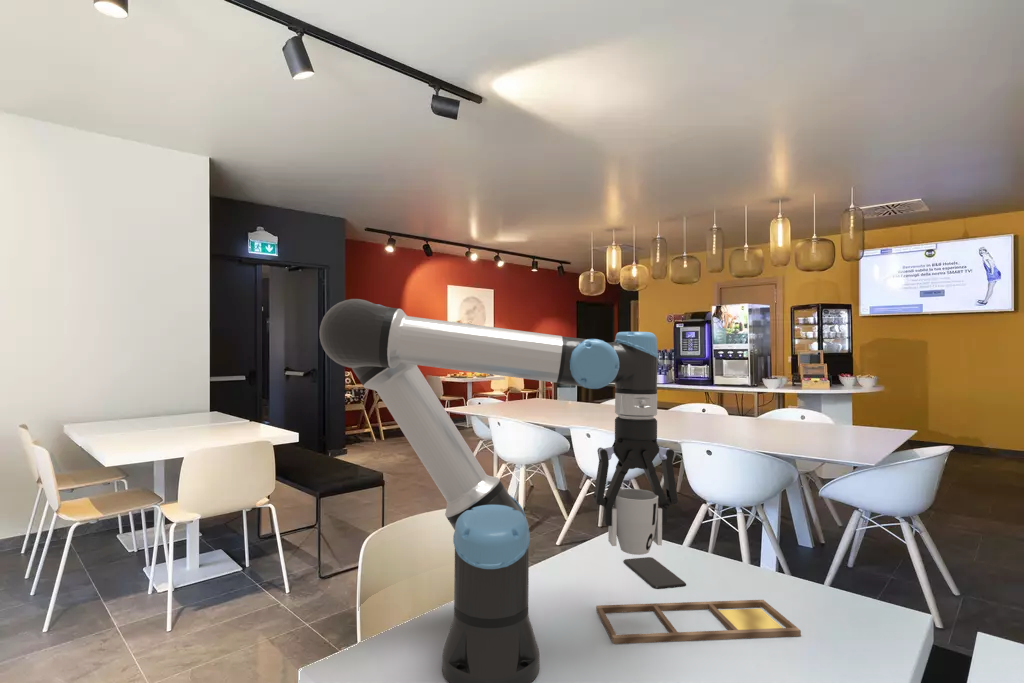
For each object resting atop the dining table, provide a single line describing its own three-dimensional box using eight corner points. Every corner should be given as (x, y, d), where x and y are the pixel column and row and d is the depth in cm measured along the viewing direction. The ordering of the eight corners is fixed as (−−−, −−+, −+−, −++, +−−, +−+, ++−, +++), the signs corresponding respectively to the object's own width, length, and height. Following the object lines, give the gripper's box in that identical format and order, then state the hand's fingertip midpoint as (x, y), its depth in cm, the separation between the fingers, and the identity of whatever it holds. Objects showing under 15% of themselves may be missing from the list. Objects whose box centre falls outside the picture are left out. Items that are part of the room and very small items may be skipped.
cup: (659, 559, 94) (659, 501, 95) (611, 555, 96) (612, 498, 96) (656, 544, 102) (657, 490, 102) (612, 540, 104) (612, 487, 104)
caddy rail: (613, 643, 92) (613, 637, 92) (596, 610, 104) (596, 605, 104) (800, 636, 95) (800, 630, 95) (763, 604, 107) (763, 599, 107)
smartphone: (688, 588, 116) (652, 560, 131) (688, 583, 116) (652, 556, 131) (654, 591, 114) (621, 562, 129) (654, 587, 114) (621, 558, 129)
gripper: (585, 418, 95) (583, 551, 94) (699, 419, 97) (698, 549, 96) (576, 414, 103) (574, 537, 102) (682, 414, 104) (681, 535, 104)
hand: (634, 542), depth 99 cm, fingers closed on cup, 8 cm apart
